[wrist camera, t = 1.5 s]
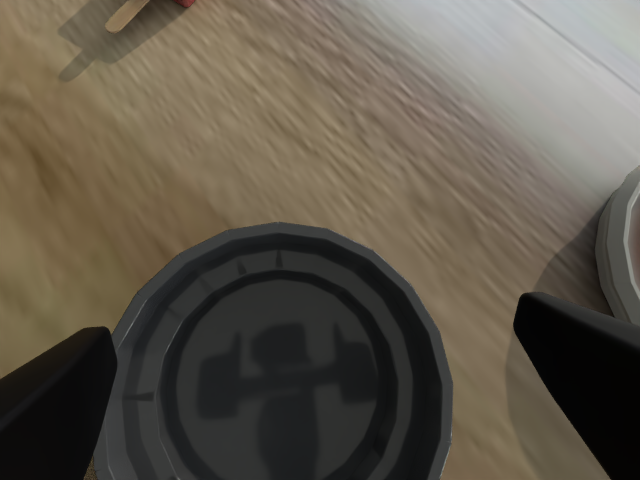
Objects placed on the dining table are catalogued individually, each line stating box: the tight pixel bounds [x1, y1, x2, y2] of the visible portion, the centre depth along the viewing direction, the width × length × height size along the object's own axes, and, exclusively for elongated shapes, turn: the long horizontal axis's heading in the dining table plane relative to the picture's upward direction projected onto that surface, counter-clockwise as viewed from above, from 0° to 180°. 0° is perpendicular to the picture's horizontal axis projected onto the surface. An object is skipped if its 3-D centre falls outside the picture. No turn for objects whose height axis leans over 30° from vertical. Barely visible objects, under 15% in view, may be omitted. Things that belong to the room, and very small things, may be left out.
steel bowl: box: [93, 222, 453, 480], centre depth 19 cm, size 16×16×4 cm
